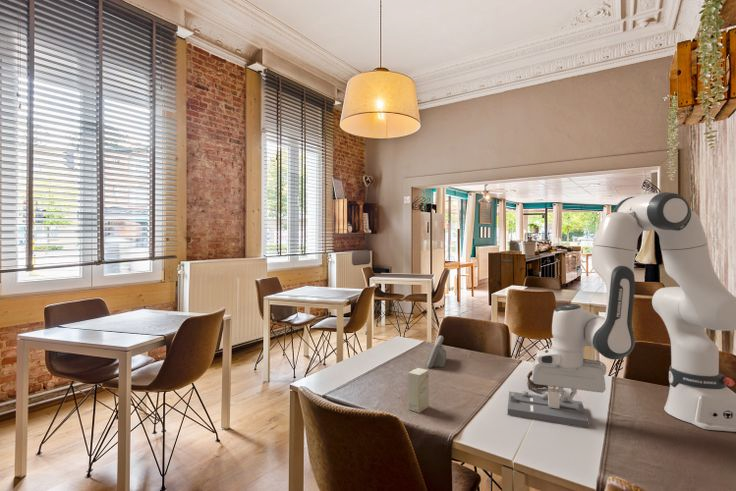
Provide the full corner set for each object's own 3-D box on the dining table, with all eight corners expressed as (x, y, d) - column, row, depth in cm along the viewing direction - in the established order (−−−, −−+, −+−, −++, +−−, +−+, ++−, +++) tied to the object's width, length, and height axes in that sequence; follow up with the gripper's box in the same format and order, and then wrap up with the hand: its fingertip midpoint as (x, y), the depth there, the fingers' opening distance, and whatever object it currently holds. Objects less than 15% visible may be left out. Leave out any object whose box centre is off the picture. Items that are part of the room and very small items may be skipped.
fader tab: (558, 403, 122) (558, 387, 121) (559, 408, 118) (559, 392, 118) (548, 401, 123) (548, 385, 123) (548, 407, 119) (548, 390, 119)
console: (581, 407, 124) (581, 395, 123) (588, 428, 111) (588, 414, 111) (509, 397, 132) (509, 385, 132) (507, 414, 119) (507, 402, 119)
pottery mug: (563, 396, 134) (555, 377, 132) (537, 406, 136) (528, 388, 134) (549, 375, 146) (541, 358, 144) (525, 384, 147) (517, 367, 145)
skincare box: (419, 413, 120) (419, 375, 120) (407, 409, 123) (407, 372, 123) (429, 406, 125) (429, 369, 125) (417, 402, 128) (417, 366, 128)
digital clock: (432, 356, 177) (432, 333, 177) (452, 359, 173) (451, 336, 172) (419, 367, 163) (419, 342, 163) (440, 370, 158) (440, 345, 158)
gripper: (604, 358, 117) (603, 402, 118) (531, 350, 125) (531, 392, 126) (608, 364, 112) (607, 411, 112) (532, 356, 119) (531, 400, 120)
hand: (567, 401), depth 119 cm, fingers closed
